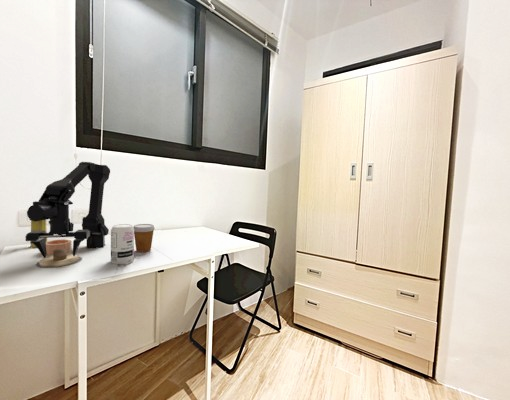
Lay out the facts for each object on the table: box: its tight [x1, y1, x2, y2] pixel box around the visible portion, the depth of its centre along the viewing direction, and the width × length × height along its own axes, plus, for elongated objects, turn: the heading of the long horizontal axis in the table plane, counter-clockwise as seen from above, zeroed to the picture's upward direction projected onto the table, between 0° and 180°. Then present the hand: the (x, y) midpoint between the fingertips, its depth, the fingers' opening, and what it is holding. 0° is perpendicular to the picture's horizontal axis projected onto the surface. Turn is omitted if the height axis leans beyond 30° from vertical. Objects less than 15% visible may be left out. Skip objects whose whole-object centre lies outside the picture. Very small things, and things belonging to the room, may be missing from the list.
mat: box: [35, 256, 83, 269], centre depth 94 cm, size 14×14×1 cm
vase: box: [29, 220, 48, 249], centre depth 112 cm, size 6×6×14 cm
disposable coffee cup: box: [133, 223, 156, 253], centre depth 115 cm, size 10×10×12 cm
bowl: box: [46, 238, 73, 256], centre depth 105 cm, size 9×9×5 cm
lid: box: [38, 249, 80, 268], centre depth 94 cm, size 12×12×4 cm
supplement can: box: [110, 223, 135, 266], centre depth 98 cm, size 8×8×15 cm
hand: (60, 256), depth 94 cm, fingers open, 9 cm apart
